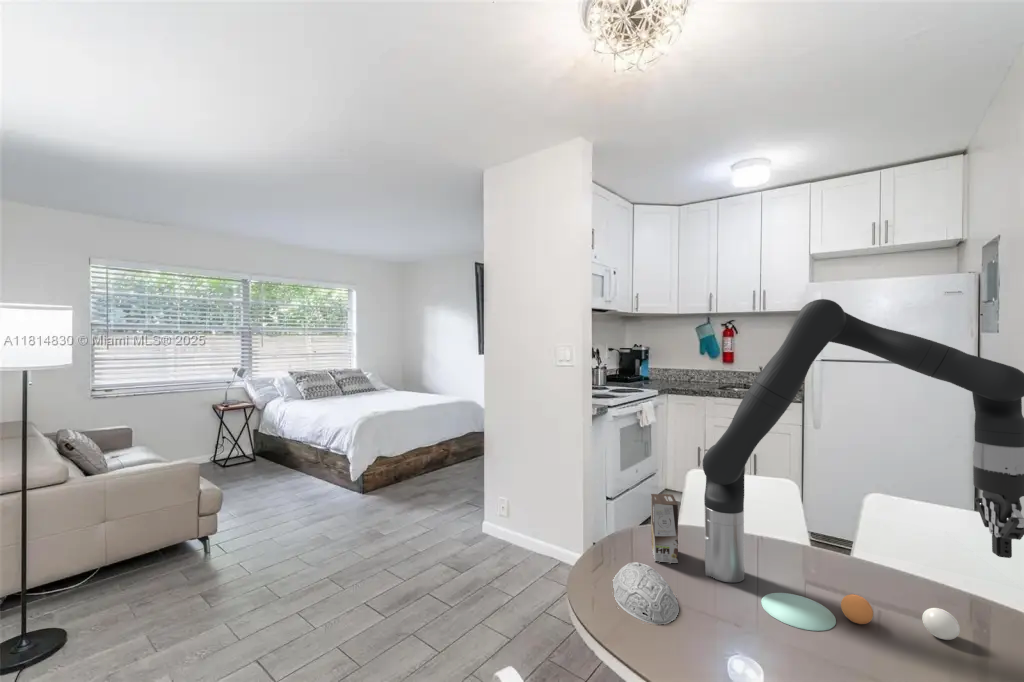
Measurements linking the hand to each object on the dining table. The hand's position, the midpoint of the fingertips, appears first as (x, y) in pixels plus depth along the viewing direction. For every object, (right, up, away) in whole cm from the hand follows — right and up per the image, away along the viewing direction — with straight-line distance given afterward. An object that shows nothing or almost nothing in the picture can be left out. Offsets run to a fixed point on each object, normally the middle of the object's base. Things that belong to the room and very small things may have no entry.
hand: (1002, 555), depth 88 cm
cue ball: (-9, -15, +3) cm, 18 cm away
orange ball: (-22, -16, +9) cm, 28 cm away
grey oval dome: (-64, -19, +20) cm, 70 cm away
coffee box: (-53, -19, +39) cm, 68 cm away
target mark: (-32, -18, +13) cm, 39 cm away
